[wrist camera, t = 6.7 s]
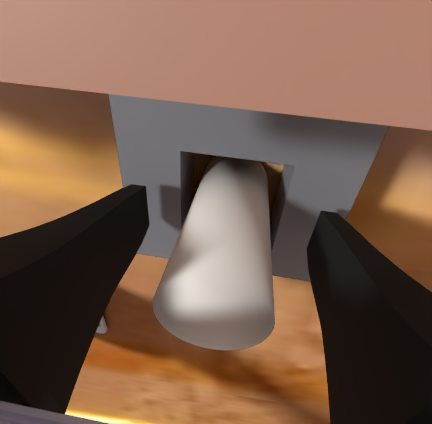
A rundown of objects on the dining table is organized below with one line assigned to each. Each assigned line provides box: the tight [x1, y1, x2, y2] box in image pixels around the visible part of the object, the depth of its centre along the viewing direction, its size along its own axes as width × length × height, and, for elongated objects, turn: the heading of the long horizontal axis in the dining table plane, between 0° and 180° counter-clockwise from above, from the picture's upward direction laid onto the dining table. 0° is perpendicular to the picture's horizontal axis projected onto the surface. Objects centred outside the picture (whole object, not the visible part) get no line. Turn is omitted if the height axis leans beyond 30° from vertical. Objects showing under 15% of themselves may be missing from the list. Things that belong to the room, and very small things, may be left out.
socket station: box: [0, 0, 432, 281], centre depth 8 cm, size 14×10×8 cm
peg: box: [152, 156, 275, 350], centre depth 10 cm, size 3×3×8 cm
